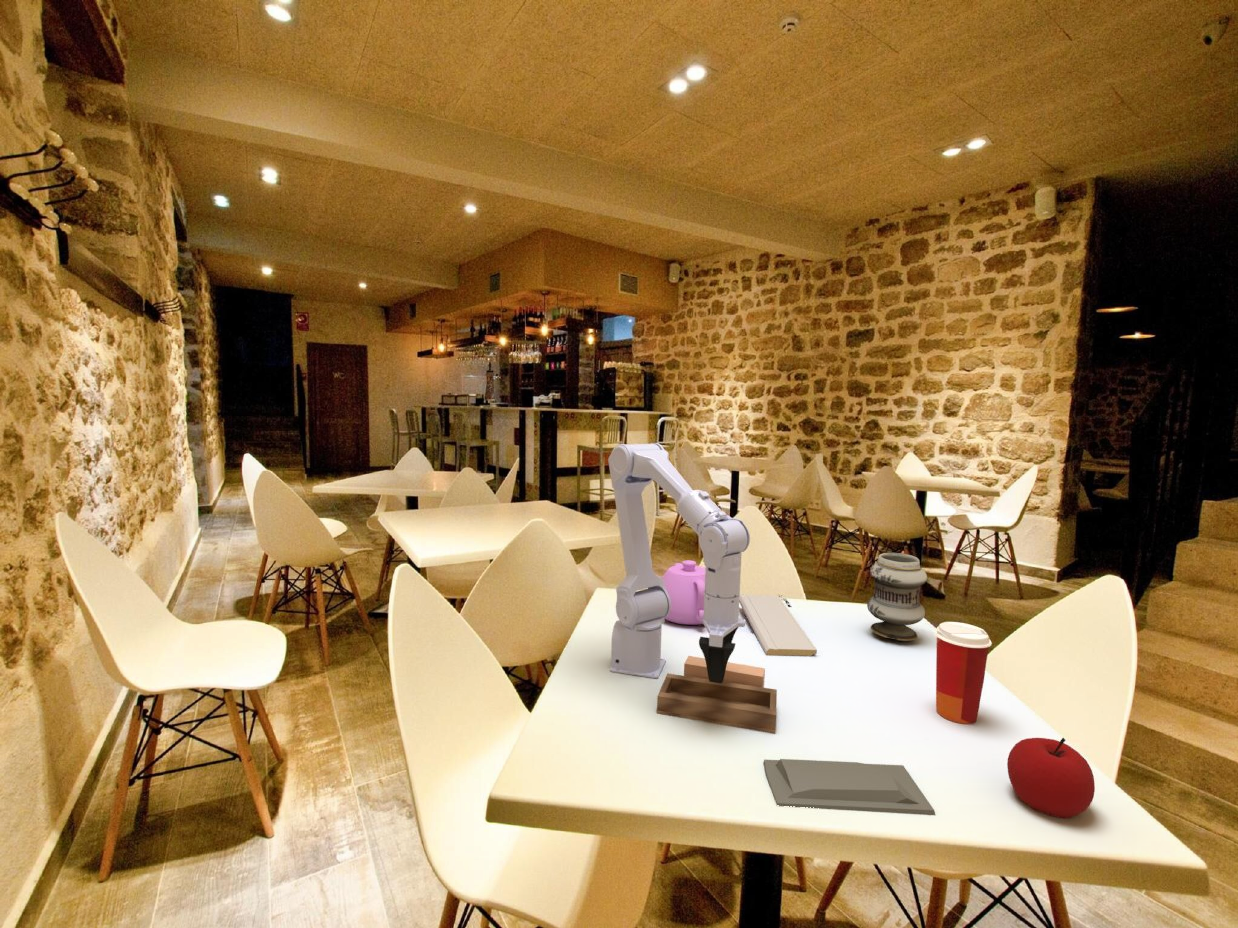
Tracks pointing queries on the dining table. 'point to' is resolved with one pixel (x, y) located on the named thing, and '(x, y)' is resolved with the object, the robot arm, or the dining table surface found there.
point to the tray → (718, 702)
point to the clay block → (726, 672)
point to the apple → (1051, 777)
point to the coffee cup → (960, 670)
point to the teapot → (685, 592)
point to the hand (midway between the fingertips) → (718, 671)
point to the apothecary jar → (896, 595)
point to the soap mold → (845, 786)
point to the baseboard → (775, 626)
